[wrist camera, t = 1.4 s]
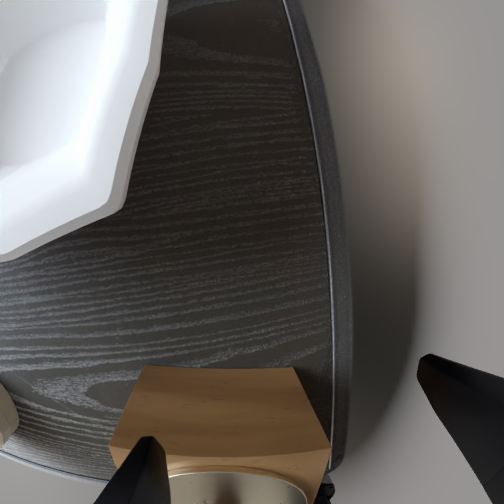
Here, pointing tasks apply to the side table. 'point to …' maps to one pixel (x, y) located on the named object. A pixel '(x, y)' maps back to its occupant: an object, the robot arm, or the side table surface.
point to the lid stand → (226, 421)
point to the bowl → (71, 111)
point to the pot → (7, 416)
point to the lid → (232, 486)
